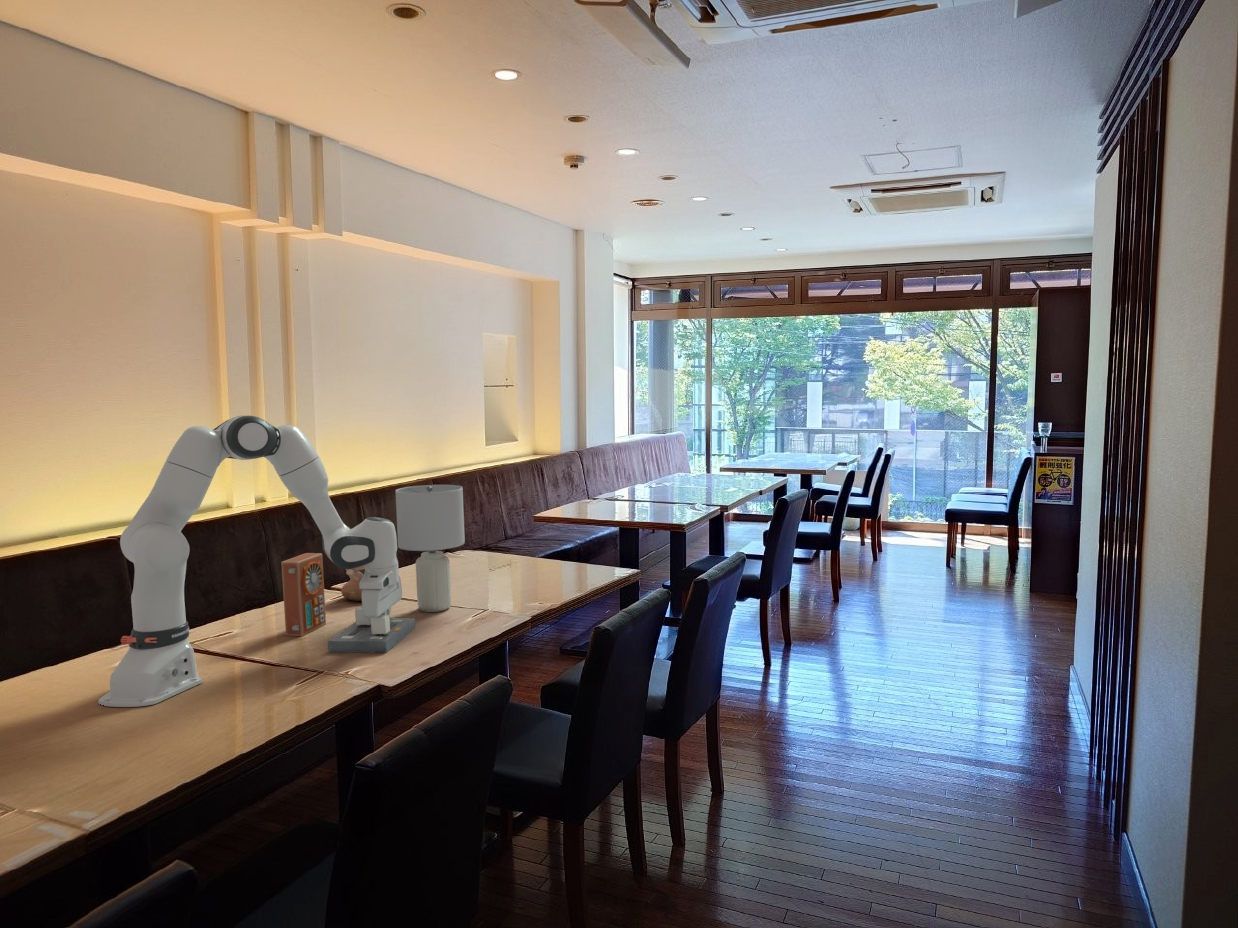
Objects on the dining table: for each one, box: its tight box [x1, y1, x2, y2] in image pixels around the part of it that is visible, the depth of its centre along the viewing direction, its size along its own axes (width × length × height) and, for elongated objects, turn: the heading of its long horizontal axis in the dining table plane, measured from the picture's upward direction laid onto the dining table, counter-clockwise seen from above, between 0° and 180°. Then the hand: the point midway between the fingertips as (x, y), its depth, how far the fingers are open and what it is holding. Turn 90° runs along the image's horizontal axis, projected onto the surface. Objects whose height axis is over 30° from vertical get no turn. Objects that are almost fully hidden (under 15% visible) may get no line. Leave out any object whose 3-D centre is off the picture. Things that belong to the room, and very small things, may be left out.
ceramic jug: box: [340, 565, 365, 602], centre depth 277 cm, size 18×14×14 cm
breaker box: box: [327, 617, 416, 654], centre depth 231 cm, size 22×16×3 cm
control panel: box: [280, 552, 327, 637], centre depth 242 cm, size 21×7×15 cm
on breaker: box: [354, 606, 371, 625], centre depth 235 cm, size 3×4×4 cm
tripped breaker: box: [371, 615, 390, 634], centre depth 226 cm, size 3×4×4 cm
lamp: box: [395, 484, 466, 613], centre depth 260 cm, size 20×20×39 cm
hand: (385, 624), depth 230 cm, fingers closed
